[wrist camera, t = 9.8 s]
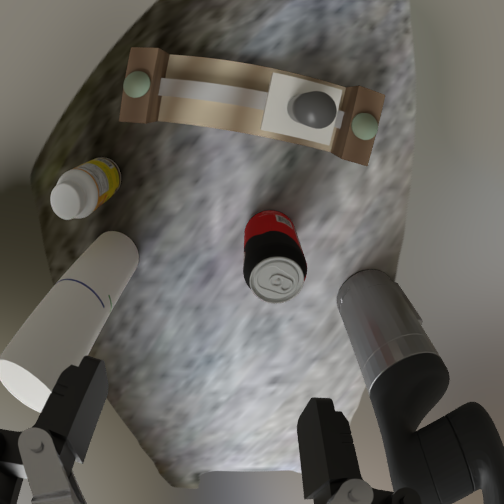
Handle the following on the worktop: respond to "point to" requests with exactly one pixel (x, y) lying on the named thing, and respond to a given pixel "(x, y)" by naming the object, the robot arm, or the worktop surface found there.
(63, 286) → the cylindrical container
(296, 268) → the beverage can
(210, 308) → the worktop surface
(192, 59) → the rail
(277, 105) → the carriage
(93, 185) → the supplement bottle
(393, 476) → the robot arm
